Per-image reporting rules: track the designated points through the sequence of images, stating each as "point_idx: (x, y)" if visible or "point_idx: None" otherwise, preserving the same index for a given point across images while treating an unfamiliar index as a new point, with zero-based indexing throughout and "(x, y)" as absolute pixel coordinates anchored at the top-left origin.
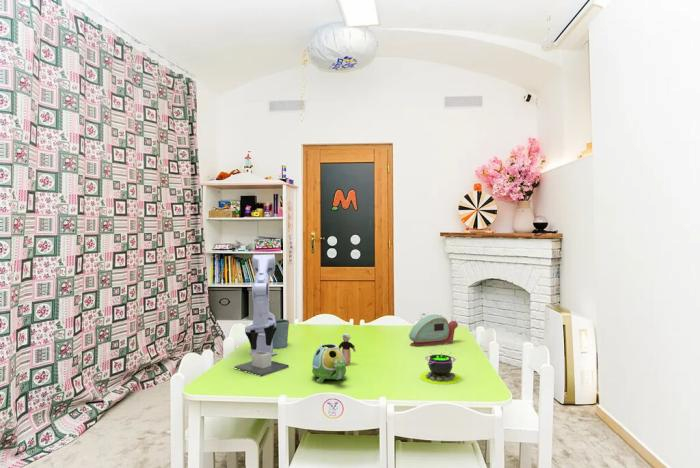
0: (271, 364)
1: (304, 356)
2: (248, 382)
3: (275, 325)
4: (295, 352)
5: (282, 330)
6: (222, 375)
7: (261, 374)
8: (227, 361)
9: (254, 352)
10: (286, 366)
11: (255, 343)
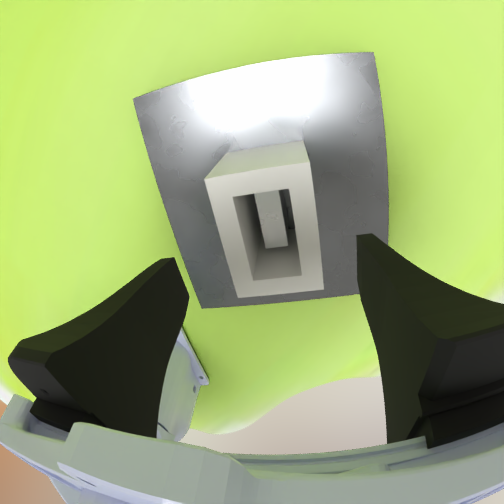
0: None
1: (28, 222)
2: (466, 41)
3: (16, 402)
4: (48, 290)
5: None
6: (473, 235)
7: (372, 53)
8: (324, 372)
9: (301, 286)
10: (150, 93)
11: (396, 259)
